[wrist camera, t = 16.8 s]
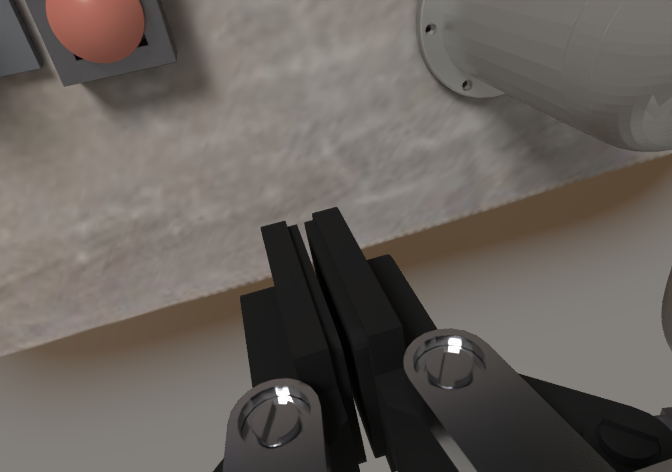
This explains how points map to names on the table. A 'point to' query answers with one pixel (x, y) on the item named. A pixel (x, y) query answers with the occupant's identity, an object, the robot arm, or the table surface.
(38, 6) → the button housing
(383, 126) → the table surface
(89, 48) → the button
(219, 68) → the table surface
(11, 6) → the desk mat
